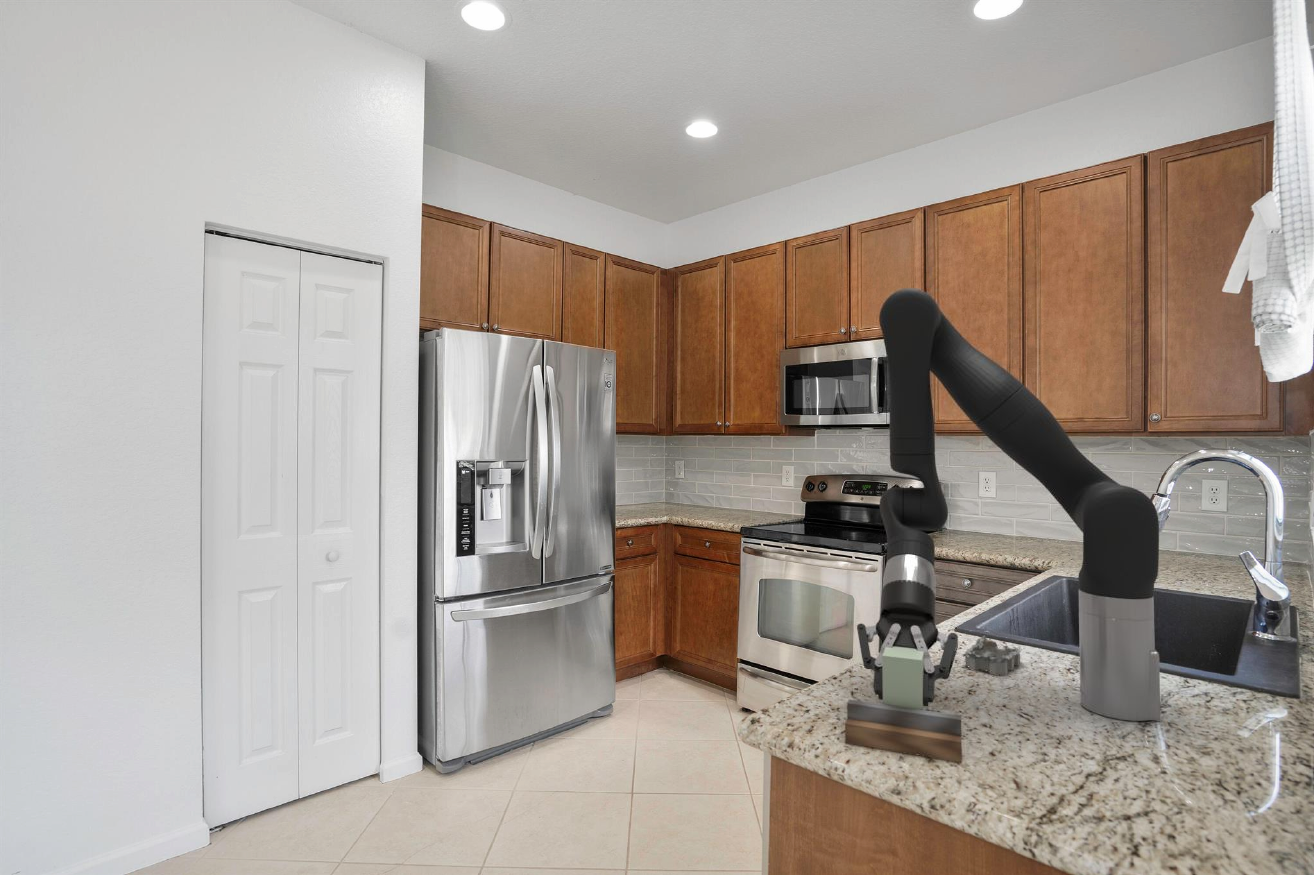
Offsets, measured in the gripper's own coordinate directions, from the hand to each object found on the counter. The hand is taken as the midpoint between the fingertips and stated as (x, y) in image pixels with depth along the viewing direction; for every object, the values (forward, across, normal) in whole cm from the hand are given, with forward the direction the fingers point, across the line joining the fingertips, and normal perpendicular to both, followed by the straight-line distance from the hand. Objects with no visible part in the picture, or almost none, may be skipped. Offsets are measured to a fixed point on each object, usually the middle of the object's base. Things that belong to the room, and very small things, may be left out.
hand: (903, 699), depth 90 cm
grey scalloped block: (-23, +12, +31) cm, 40 cm away
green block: (+2, 0, +4) cm, 5 cm away
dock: (+3, 0, +4) cm, 5 cm away
